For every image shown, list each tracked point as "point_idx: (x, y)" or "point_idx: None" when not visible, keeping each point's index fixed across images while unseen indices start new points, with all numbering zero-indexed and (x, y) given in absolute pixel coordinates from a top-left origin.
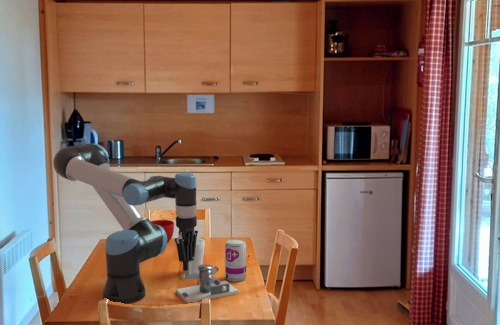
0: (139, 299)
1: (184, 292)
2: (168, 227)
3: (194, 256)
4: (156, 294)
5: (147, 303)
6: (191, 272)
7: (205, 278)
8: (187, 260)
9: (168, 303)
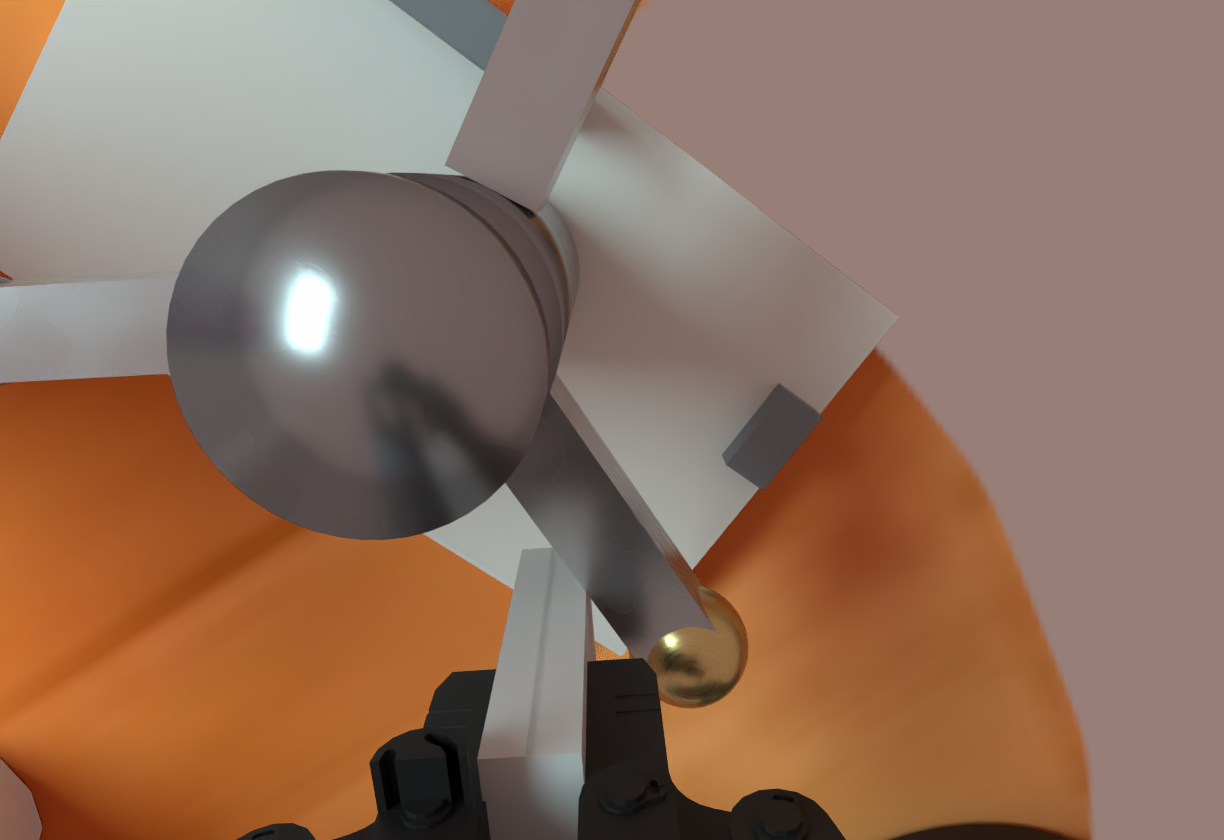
0: (1008, 832)
1: (741, 471)
2: None
3: (254, 831)
4: (772, 777)
5: (1041, 713)
6: (11, 810)
7: (545, 234)
8: (666, 809)
9: (963, 517)
